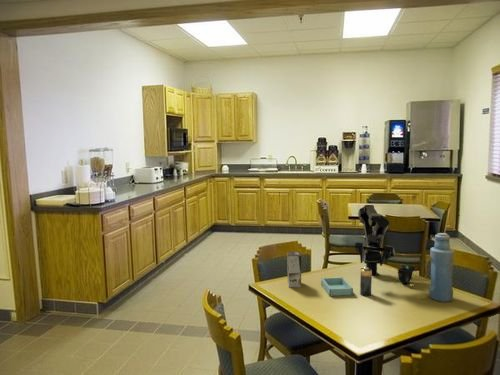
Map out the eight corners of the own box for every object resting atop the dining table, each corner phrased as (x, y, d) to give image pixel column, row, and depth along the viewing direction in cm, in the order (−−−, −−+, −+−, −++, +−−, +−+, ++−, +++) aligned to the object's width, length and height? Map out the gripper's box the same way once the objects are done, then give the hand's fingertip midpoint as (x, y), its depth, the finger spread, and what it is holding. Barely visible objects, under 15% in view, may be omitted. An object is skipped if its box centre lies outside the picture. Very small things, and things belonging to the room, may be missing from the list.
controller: (395, 284, 200) (396, 265, 199) (407, 278, 208) (408, 260, 207) (404, 286, 197) (404, 266, 196) (415, 280, 205) (416, 262, 204)
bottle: (455, 303, 176) (458, 236, 173) (431, 301, 178) (433, 235, 175) (449, 295, 185) (451, 231, 182) (426, 293, 187) (428, 231, 184)
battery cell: (358, 292, 190) (358, 266, 188) (369, 292, 190) (369, 265, 189) (362, 296, 184) (362, 269, 183) (373, 296, 185) (373, 268, 184)
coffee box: (301, 287, 198) (301, 255, 196) (288, 287, 198) (288, 255, 196) (299, 281, 207) (299, 251, 205) (287, 281, 207) (287, 251, 205)
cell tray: (321, 284, 201) (321, 278, 201) (342, 284, 202) (342, 277, 201) (329, 296, 185) (329, 289, 185) (352, 295, 186) (352, 288, 185)
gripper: (355, 226, 200) (348, 252, 192) (394, 229, 189) (387, 258, 181) (360, 238, 207) (353, 264, 199) (397, 242, 197) (391, 270, 189)
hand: (370, 264), depth 192 cm, fingers open, 9 cm apart
